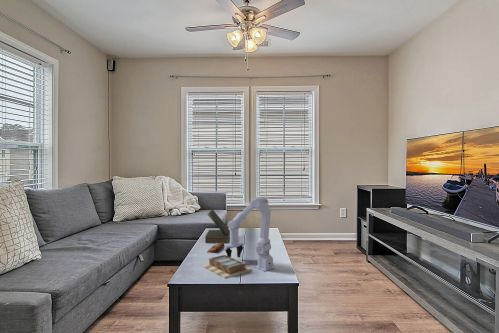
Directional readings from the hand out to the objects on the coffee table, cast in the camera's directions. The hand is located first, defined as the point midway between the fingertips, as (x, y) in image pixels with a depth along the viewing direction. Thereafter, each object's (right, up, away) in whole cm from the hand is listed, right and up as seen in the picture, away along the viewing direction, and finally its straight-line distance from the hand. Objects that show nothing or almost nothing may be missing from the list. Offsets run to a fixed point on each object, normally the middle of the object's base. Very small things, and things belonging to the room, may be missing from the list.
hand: (234, 258), depth 196 cm
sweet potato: (-15, -2, +27) cm, 31 cm away
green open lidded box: (-16, -2, +55) cm, 58 cm away
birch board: (-4, -2, -13) cm, 14 cm away
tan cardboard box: (-4, -1, -13) cm, 14 cm away
